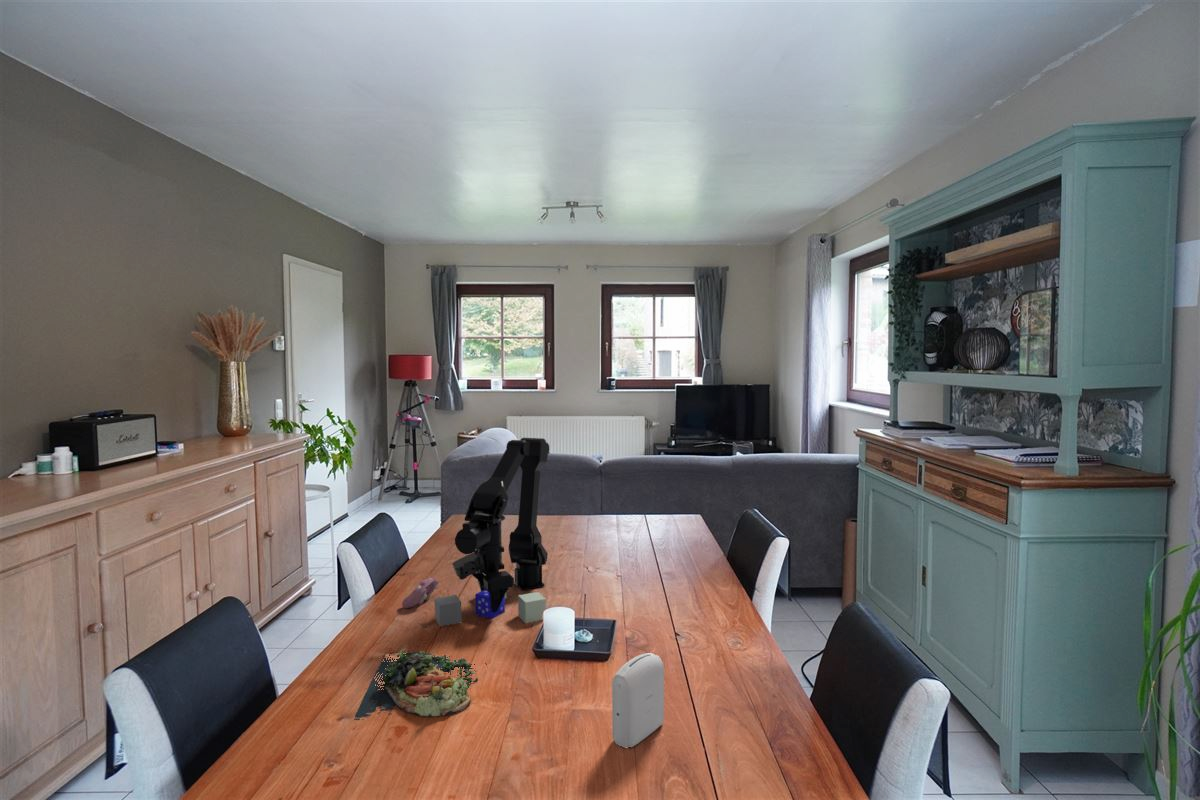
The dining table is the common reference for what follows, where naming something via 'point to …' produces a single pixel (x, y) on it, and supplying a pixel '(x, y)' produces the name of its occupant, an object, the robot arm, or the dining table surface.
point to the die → (487, 605)
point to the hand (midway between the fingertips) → (490, 606)
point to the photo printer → (637, 699)
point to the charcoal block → (448, 610)
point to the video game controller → (420, 593)
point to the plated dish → (418, 686)
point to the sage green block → (531, 607)
